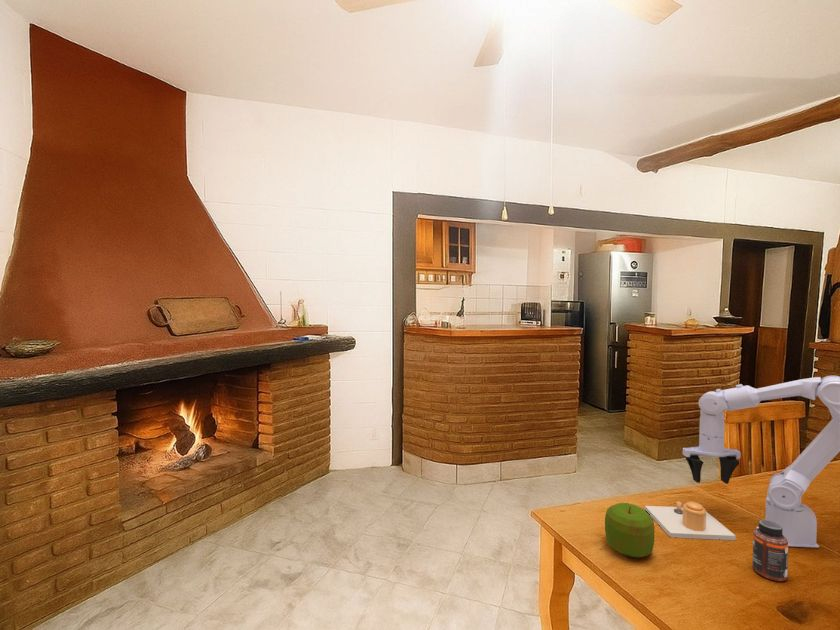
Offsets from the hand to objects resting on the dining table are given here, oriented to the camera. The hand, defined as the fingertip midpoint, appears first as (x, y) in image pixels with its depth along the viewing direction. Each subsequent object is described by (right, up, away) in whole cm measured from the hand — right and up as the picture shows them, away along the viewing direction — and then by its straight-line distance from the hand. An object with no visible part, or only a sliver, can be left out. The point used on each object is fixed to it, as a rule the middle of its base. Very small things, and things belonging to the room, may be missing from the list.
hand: (710, 481), depth 115 cm
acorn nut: (-10, -9, -7) cm, 15 cm away
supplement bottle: (-4, -11, -24) cm, 27 cm away
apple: (-31, -11, -15) cm, 36 cm away
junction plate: (-9, -10, -4) cm, 14 cm away
